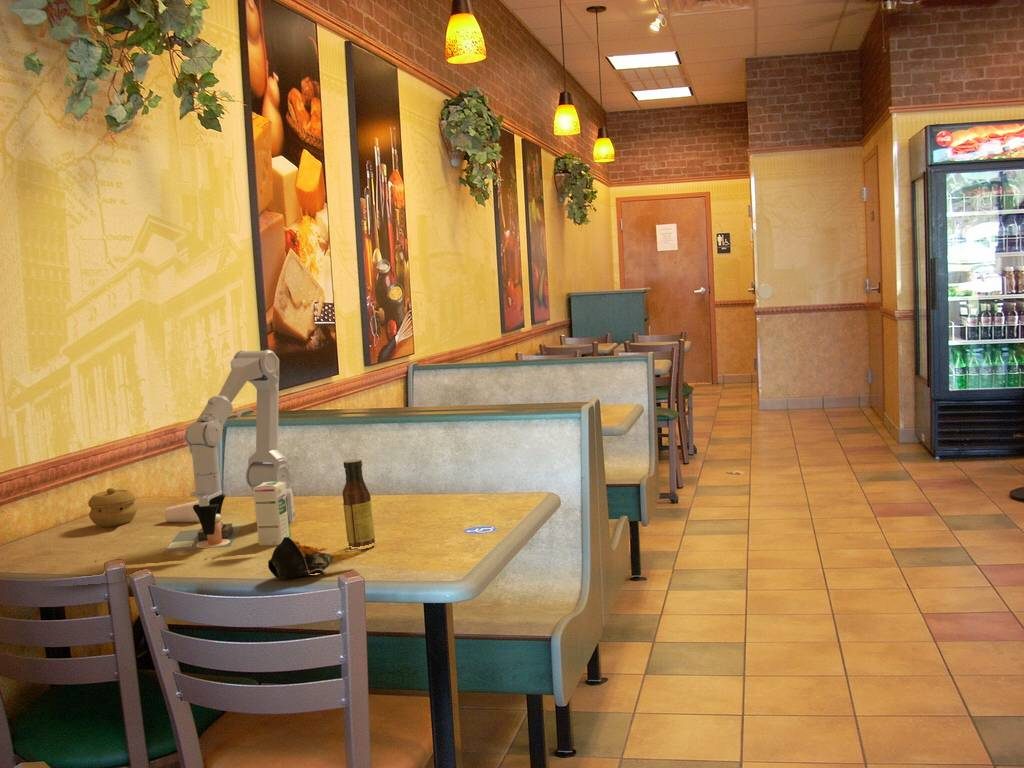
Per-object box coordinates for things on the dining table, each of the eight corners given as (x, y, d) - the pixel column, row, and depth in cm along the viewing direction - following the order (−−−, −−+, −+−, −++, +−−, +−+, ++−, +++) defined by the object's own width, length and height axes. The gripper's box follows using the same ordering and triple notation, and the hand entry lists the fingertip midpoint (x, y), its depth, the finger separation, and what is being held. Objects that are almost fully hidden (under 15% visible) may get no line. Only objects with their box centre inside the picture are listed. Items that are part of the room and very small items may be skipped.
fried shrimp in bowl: (256, 555, 220) (328, 513, 229) (283, 601, 219) (354, 557, 228) (266, 547, 212) (340, 503, 221) (294, 594, 211) (368, 549, 221)
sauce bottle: (380, 544, 241) (374, 457, 239) (368, 551, 235) (361, 462, 233) (354, 543, 244) (348, 457, 241) (341, 550, 238) (334, 462, 236)
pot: (80, 531, 274) (76, 492, 273) (109, 520, 285) (105, 483, 284) (119, 531, 270) (116, 492, 269) (147, 520, 282) (143, 483, 281)
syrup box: (282, 548, 243) (277, 485, 241) (257, 548, 244) (252, 486, 242) (291, 541, 248) (286, 480, 247) (268, 542, 250) (262, 481, 248)
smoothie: (159, 510, 270) (212, 504, 269) (169, 497, 276) (220, 492, 275) (166, 531, 273) (218, 526, 271) (175, 519, 278) (226, 514, 277)
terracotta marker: (223, 540, 250) (221, 513, 249) (221, 544, 246) (219, 516, 246) (208, 541, 249) (206, 514, 249) (206, 545, 246) (203, 517, 245)
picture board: (242, 528, 265) (242, 525, 265) (230, 549, 245) (230, 545, 244) (180, 534, 263) (180, 530, 263) (163, 555, 243) (163, 551, 243)
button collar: (232, 531, 259) (232, 523, 259) (228, 538, 252) (227, 530, 252) (203, 533, 258) (202, 525, 258) (198, 540, 251) (197, 532, 251)
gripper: (194, 468, 253) (199, 524, 254) (183, 480, 239) (188, 539, 240) (224, 466, 254) (229, 522, 255) (215, 477, 239) (220, 536, 241)
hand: (212, 530), depth 248 cm, fingers open, 7 cm apart
